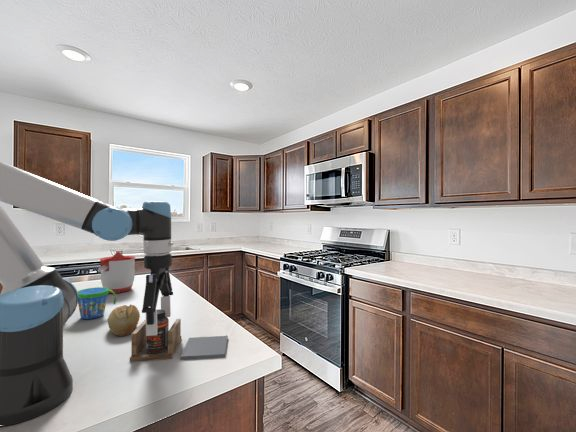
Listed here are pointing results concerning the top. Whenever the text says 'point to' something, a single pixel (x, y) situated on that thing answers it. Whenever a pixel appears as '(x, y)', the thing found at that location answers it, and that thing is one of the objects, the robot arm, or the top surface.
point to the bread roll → (123, 320)
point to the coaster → (205, 347)
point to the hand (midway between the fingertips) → (159, 325)
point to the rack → (141, 341)
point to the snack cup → (93, 302)
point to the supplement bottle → (159, 334)
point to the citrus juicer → (117, 272)
